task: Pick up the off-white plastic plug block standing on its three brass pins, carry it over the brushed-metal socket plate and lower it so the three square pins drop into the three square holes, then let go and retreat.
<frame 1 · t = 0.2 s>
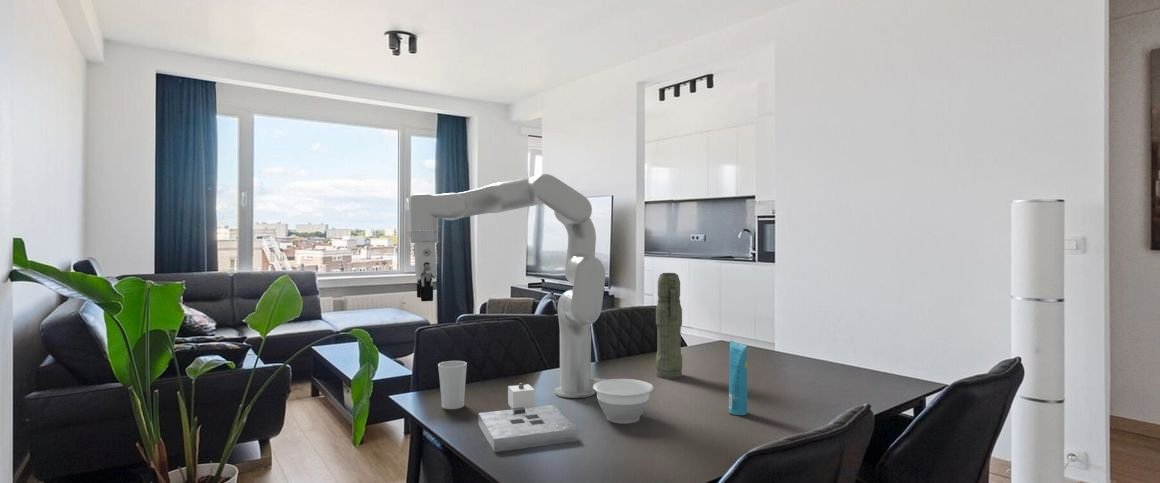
hand: (424, 299, 165), 31 cm above the table, fingers open, 9 cm apart
plug: (521, 411, 163), on the table
cup: (452, 406, 168), on the table
tube: (738, 413, 161), on the table
socket: (526, 432, 146), on the table
bowl: (623, 418, 157), on the table
thermos: (669, 376, 202), on the table
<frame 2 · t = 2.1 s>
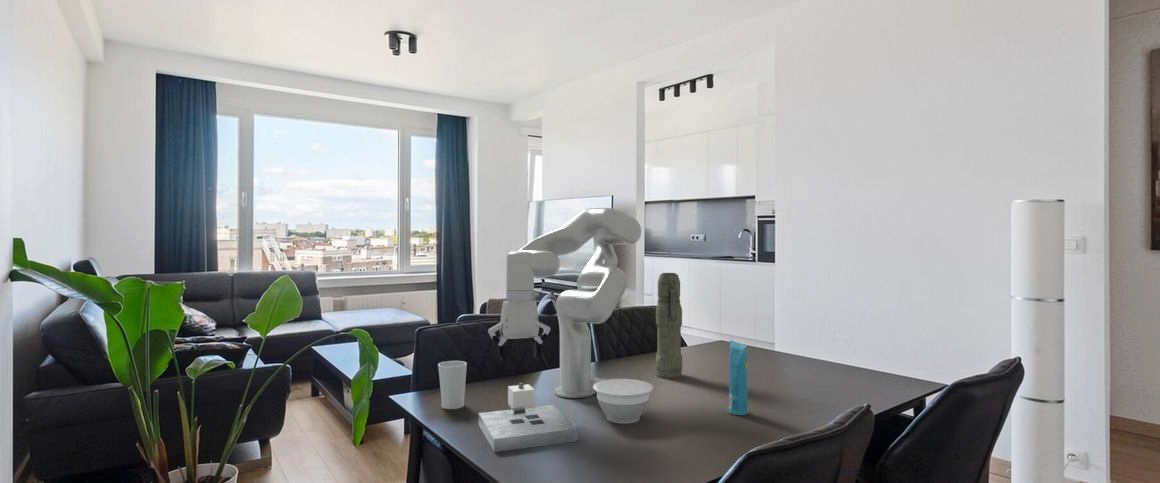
hand: (519, 358, 162), 15 cm above the table, fingers open, 9 cm apart
nothing on the table moved.
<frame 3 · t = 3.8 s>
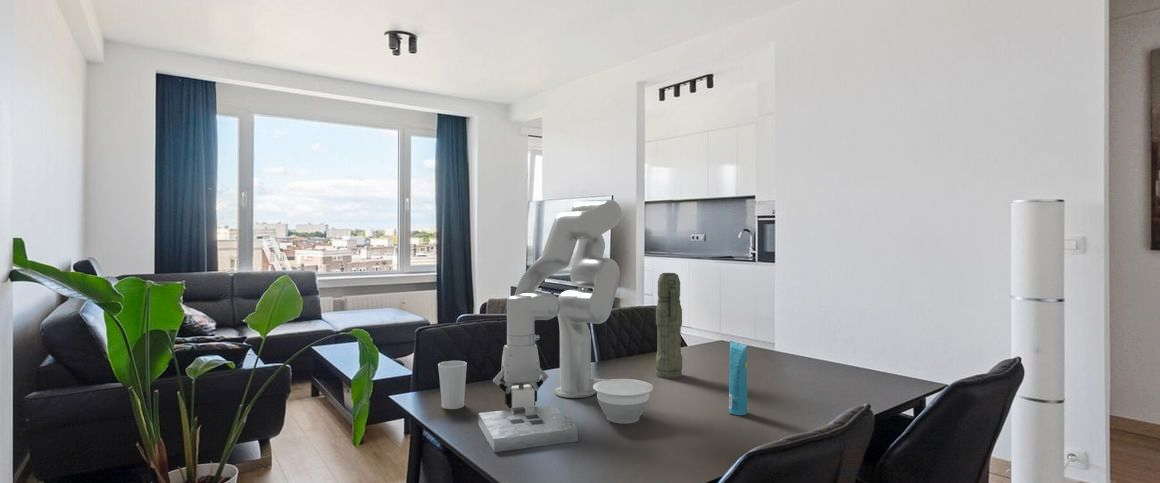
hand: (521, 404, 163), 2 cm above the table, fingers closed on plug, 6 cm apart
plug: (521, 411, 163), on the table, touching gripper
everything else where it was.
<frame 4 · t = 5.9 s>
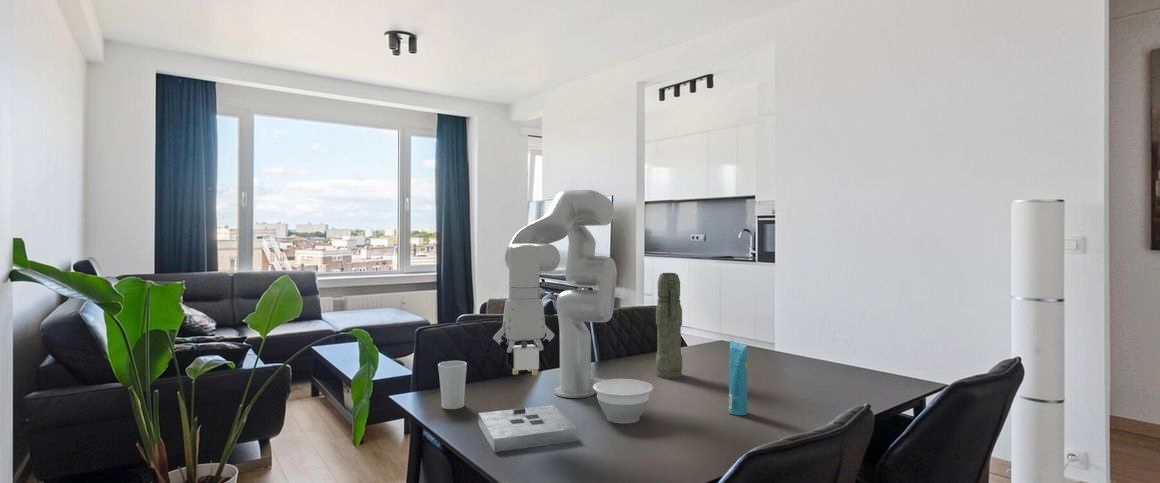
hand: (524, 366, 147), 16 cm above the table, fingers closed on plug, 6 cm apart
plug: (524, 373, 147), point 14 cm above the table, touching gripper
everything else where it was.
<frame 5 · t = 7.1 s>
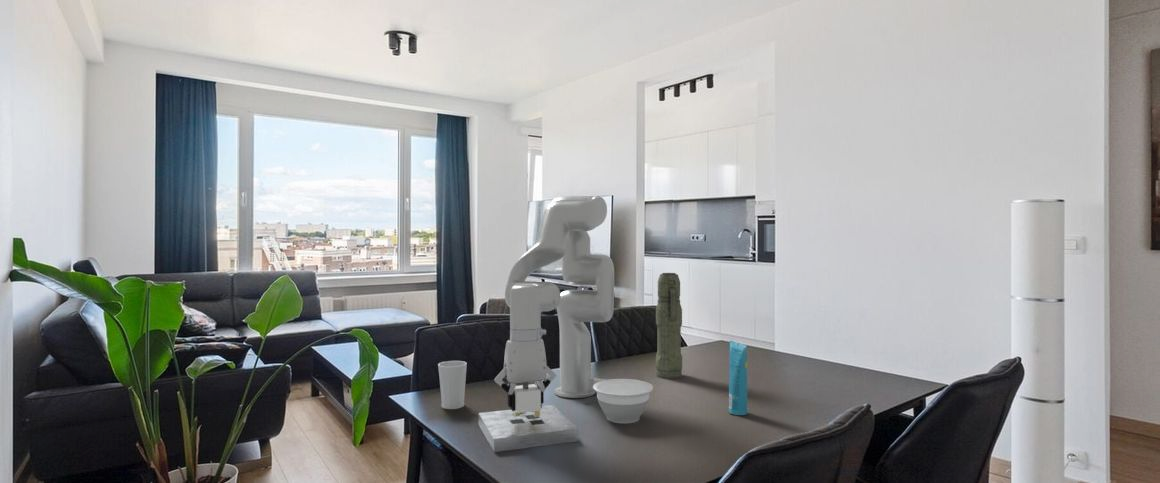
hand: (525, 407, 146), 6 cm above the table, fingers closed on plug, 6 cm apart
plug: (525, 414, 146), point 5 cm above the table, touching gripper
everything else where it was.
when the fingers open (4 cm above the table, at t = 8.0 s): plug stays where it is, resting on socket.
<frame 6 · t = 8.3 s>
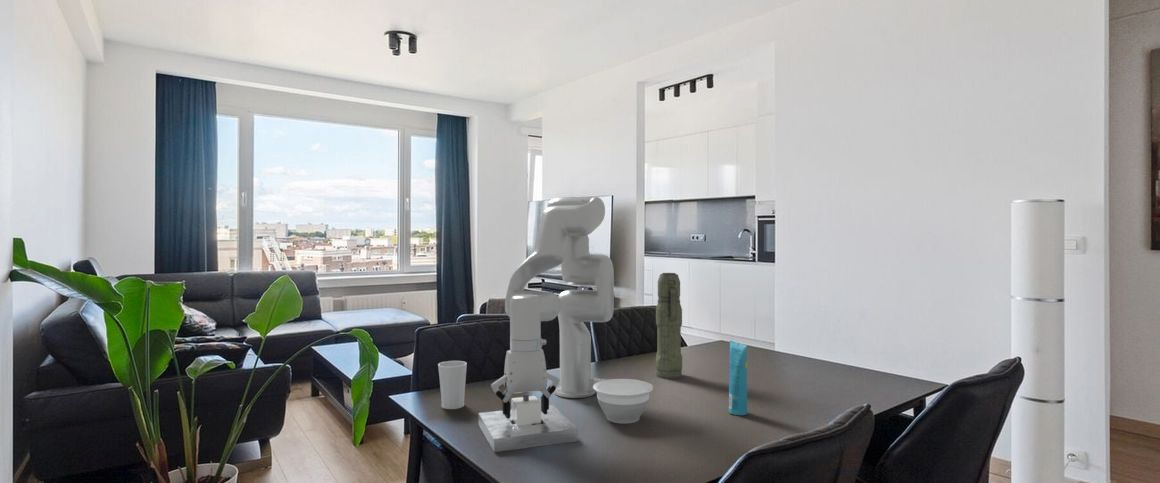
hand: (525, 414, 146), 4 cm above the table, fingers open, 9 cm apart
plug: (526, 426, 146), point 1 cm above the table, touching socket
everything else where it was.
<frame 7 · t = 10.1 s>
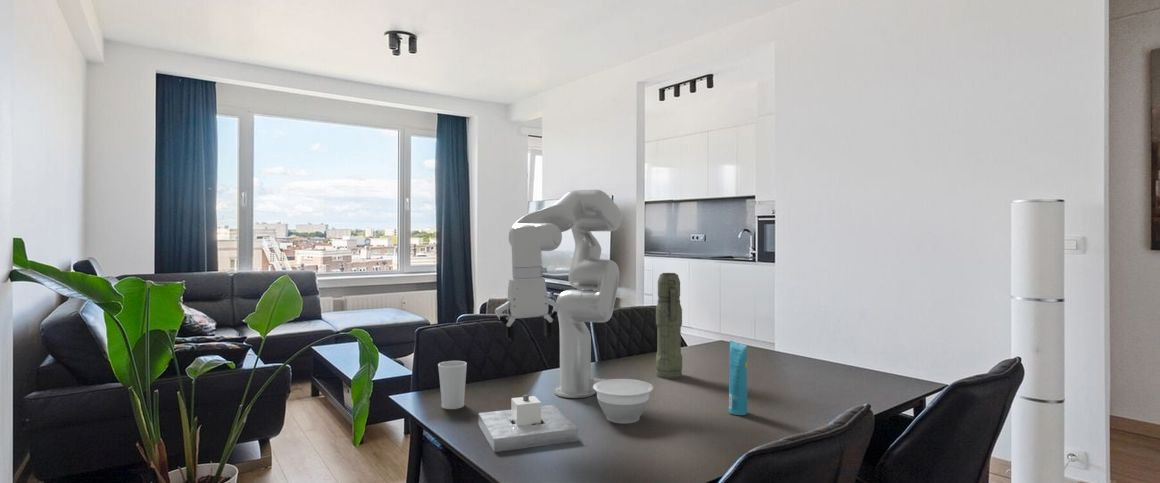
hand: (529, 338, 153), 22 cm above the table, fingers open, 9 cm apart
nothing on the table moved.
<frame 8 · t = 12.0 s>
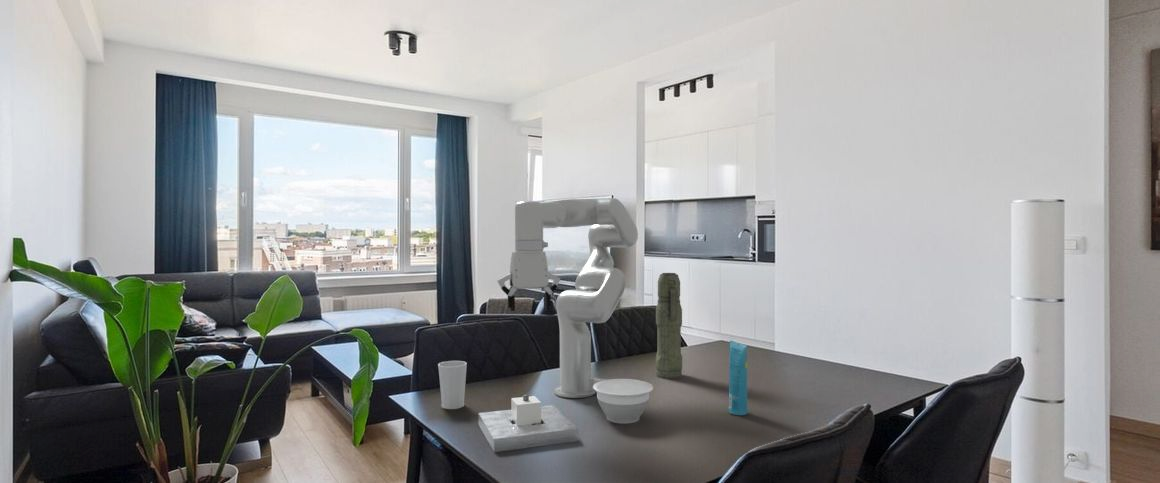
hand: (529, 309, 161), 28 cm above the table, fingers open, 9 cm apart
nothing on the table moved.
at the end: plug 0.1 cm off-centre on the socket, point 1.5 cm above the socket's base; plug tilted 0°; the gripper is holding nothing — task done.
